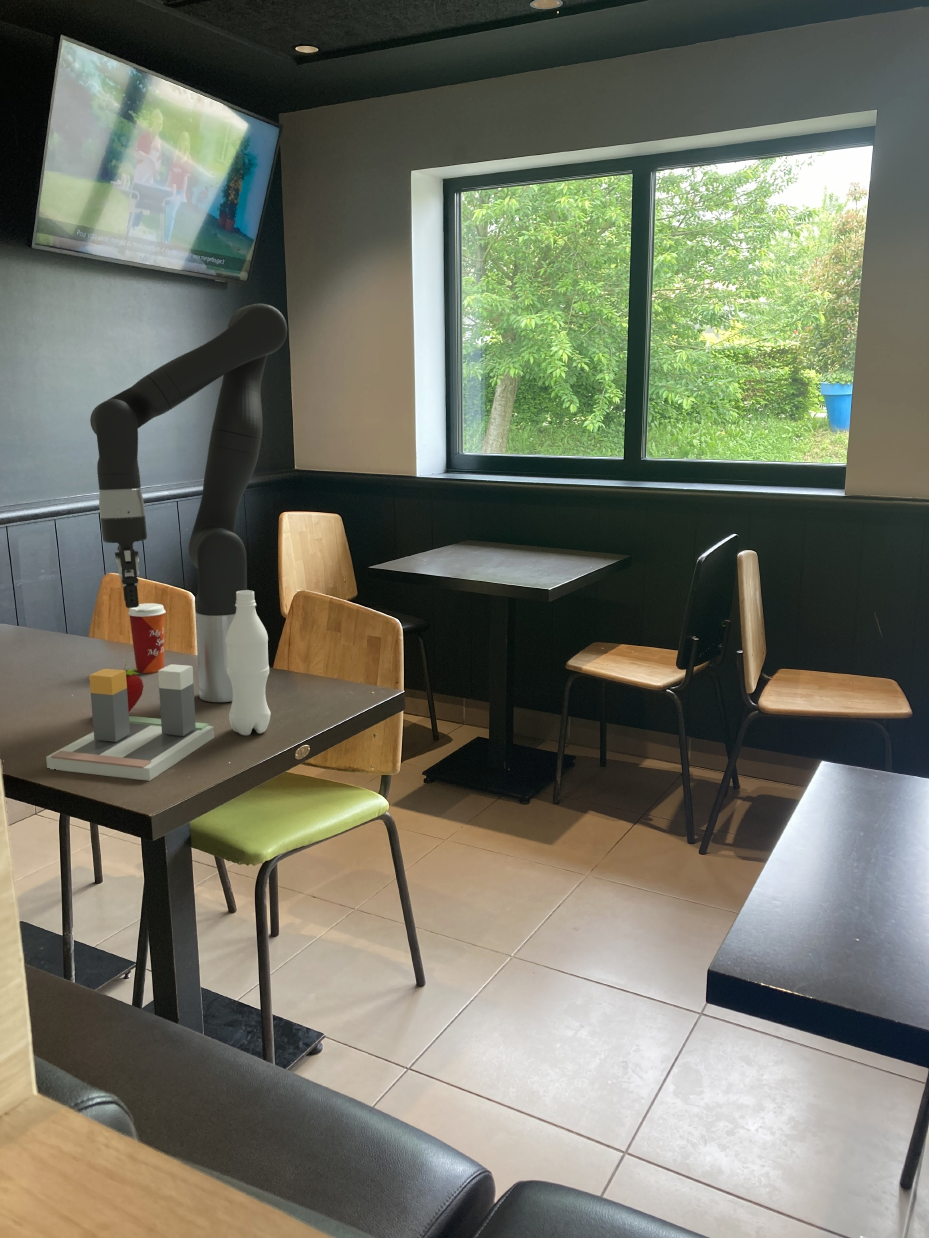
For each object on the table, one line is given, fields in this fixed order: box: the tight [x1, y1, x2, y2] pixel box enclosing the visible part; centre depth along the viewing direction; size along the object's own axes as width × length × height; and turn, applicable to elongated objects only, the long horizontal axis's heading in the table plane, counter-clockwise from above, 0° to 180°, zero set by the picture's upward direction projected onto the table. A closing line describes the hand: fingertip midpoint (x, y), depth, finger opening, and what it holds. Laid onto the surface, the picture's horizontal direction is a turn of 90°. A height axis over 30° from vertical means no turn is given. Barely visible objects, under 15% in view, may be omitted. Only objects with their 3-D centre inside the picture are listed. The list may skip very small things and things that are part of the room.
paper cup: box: [127, 602, 167, 674], centre depth 200 cm, size 8×8×14 cm
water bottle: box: [226, 589, 272, 736], centre depth 162 cm, size 7×7×25 cm
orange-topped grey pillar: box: [89, 668, 130, 742], centre depth 153 cm, size 4×4×11 cm
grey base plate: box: [46, 663, 215, 782], centre depth 152 cm, size 20×18×13 cm
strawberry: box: [124, 660, 144, 713], centre depth 172 cm, size 6×8×10 cm
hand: (131, 604), depth 169 cm, fingers open, 8 cm apart
